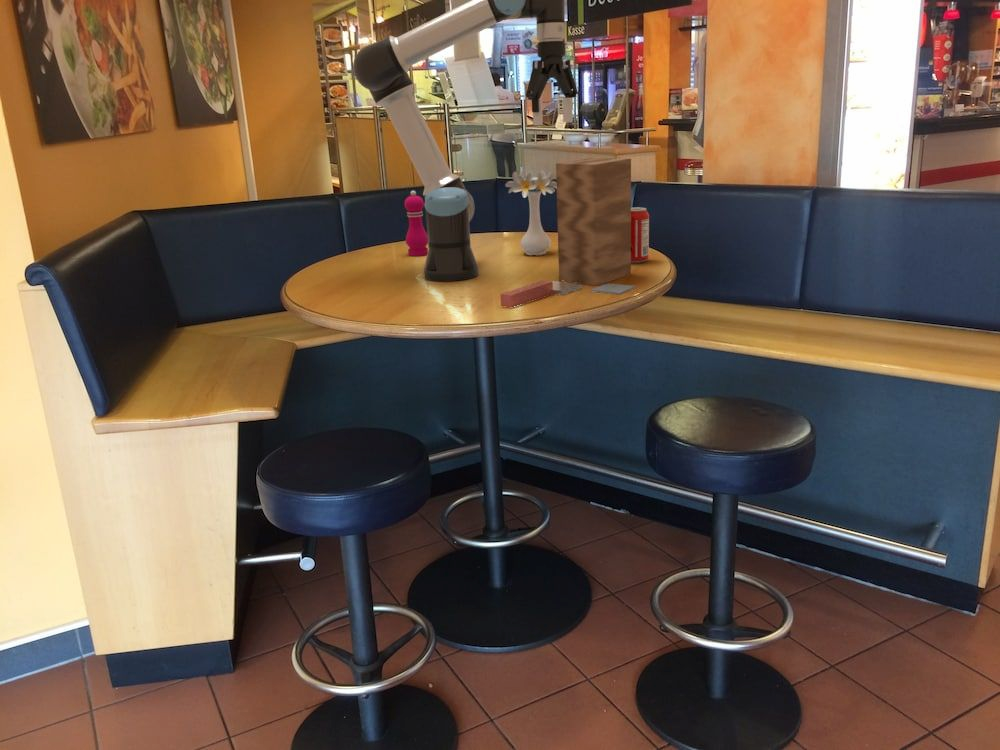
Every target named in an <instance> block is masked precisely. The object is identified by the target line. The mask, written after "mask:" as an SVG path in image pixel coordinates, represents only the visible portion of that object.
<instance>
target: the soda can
mask: <svg viewBox="0 0 1000 750" xmlns="http://www.w3.org/2000/svg"><path fill="white" fill-rule="evenodd" d="M649 233H650V214H649V212H648V210H647V208H646V207H639V206H638V207H631V264H633V263H635V264H642V263H645V262H646V261H648V259H649V256H650V255H649V249H650V246H649V245H650V244H649V243H650V241H649V240H650V235H649Z"/></svg>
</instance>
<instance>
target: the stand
mask: <svg viewBox="0 0 1000 750" xmlns="http://www.w3.org/2000/svg"><path fill="white" fill-rule="evenodd" d="M555 170H556V172H555V173H556V176H555V177H556V182H557V190H556V210H557V211H556V212H557V213H556V214H557V216H556V217H557V249H558V281H559V280H564V281H563V282H566V281H570V282H569V283H574V282H577V283H576V284H581V283H584V284H583V285H589V284H591V286H601V285H604V284H606V283H609V282H610V281H614V280H617V279H620V278H622V277H624V276H628V275H631V274H632V268H631V267H632V263H631V208H632V158H620V157H619V158H617V157H610V158H608V157H590V158H583V159H578V160H571V161H565V162H559V163H555Z"/></svg>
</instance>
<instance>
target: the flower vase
mask: <svg viewBox="0 0 1000 750" xmlns="http://www.w3.org/2000/svg"><path fill="white" fill-rule="evenodd" d="M536 174H537V175H536V176H537V177H536V176H535V175H534V173H533V172H532V171H531V170H528V172H527V174H526V176H525V178H524V177H523V175H524V172H523V171H522V172H520V173H519V174H518V173H517V171H513V173H512V176H511V177H512V180H513V181H512V180H510V181H507V182H506V183H505V185H504V186H505V187H506V188H509V189H508V194H510V193H512V192H513V193H518V192H521V195H522V198H524V199H525V198H527V197H528V203H529V204H528V205H529V222H528V223H529V224H528V228H527V231H526V233H525V234H524V235H523V236H522V238H521V239H520V240H521V241H520V247H521V248H522V249H523V250H524V251H525V254H526V255H528V256H532V255H536V256H543V254H544V255H546V254H547V250H548V249H549V248H550V247H551V244H552V242H551V238H550V236H549V235H548V234H547V233H546V232H545V231H544V228H543V226H542V223H541V213H540V212H541V211H540V200H541V194H542V195H544V196H546V195H547V193H548V194H550V195H551V194H553V193H556V191H557V181H553V179H554V174H553V172H552V171H550V172H548V174H546V173H545V171H544V170H541V173H540V172H539V171H538V172H537V173H536Z"/></svg>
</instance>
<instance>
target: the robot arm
mask: <svg viewBox="0 0 1000 750" xmlns="http://www.w3.org/2000/svg"><path fill="white" fill-rule="evenodd" d="M534 18H535V19H536V40H537V41H538V42H537V44H536V47H537V49H536V50H537V53H536V54H537V57H538V58H540V59H538V60H532V64H531V73H530V77H529V81H528V85H527V88H526V93H525V97H526V98H527V99H528V101H531V112H532V125H533V126H543V123H544V119H543V118H544V117H543V99H540V98H541V96H542V94H543V92H544V90H545V88H546V85H547V83H548V81H549V80H550V79H554V80H555V81H556V82H557V84H558V87H559V88H560V90H561V92H562V94H563V96H564V97H562V118H563V119H562V122H563V123H573V121H574V120H573V108H574V105H573V102H574V101H573V99H574V98H576V97H577V95H578V93H579V91H578V89H577V84H576V82H575V78H574V74H573V72H572V69H571V60H570V59H563V57H564V56H565V55H566V41H564V39H565V38H566V33H565V32H566V31H565V28H566V27H565V26H566V24H565V22H566V21H565V18H566V17H565V0H469V1H467V2H465V3H463V4H461V5H459V6H457V7H455V8H453V9H451V10H449V11H446V12H444V13H442V14H441V15H440V16H437V17H435V18H433V19H430V20H429V21H426V22H425V23H423V24H421V25H418V26H417V27H415V28H413V29H410V30H409V31H407V32H405V33H403V34H401V35H399V36H397V37H395V36H392V35H390V36H387V37H386V38H383V39H380V40H378V41H376V42H373V43H370V44H367V45H365V46H363V47H362V48H361V49H360V50H358V52H357V54H356V55H355V57H354V59H353V63H352V64H353V65H352V66H353V67H352V68H353V74H354V77H355V79H356V81H357V82H358V83H359V84H360V85H361V86H362V87H363V88H364V89H367V90H368V91H369V93H370V95H371V97H372V99H373V101H374V102H375V104H376V106H379V107H382V108H383V109H384V110H385V112H386V114H387V116H388V118H389V119H390V121H391V123H392V126H393V127H394V129H395V131H396V133H397V134H396V135H398V137H399V139H400V141H401V143H402V145H403V147H404V149H405V151H406V153H407V155H408V157H409V159H410V161H411V163H412V165H413V166H414V168H415V171H416V172H417V174H418V176H419V178H420V181H421V182H422V184H423V186H424V189H423V193H422V195H423V198H424V208H425V220H426V231H427V232H426V233H427V236H428V244H427V245H428V247H427V248H428V254H426V259H425V263H424V267H423V268H424V269H423V276H424V278H425V280H429V281H437V282H453V281H454V282H457V281H462V280H463V281H464V280H469V279H473V278H475V277H477V276H479V265H478V262H477V259H476V257H475V255H474V251H473V250H472V246H471V232H470V231H471V230H470V223H471V221H472V220H473V218H474V215H475V201H474V197H473V196H472V195H471V194H470V192H469V191H468V190H467V189H466V187H465V185H464V183H463V181H462V180H461V177H460V176H459V175H458V174H454V173H453V172H452V170H451V169H450V168H449V165H448V163H447V162H446V161H447V160H446V159H445V157H444V156H443V153H442V152H441V149H440V147H439V145H438V144H437V141H436V139H435V137H434V135H433V133H432V132H431V129H430V127H429V126H428V123H427V121H426V119H425V117H424V115H423V114H422V111H421V109H420V107H419V105H418V103H417V101H416V99H415V97H414V95H413V89H414V83H413V82H412V79H411V77H410V75H409V70H410V67H411V66H413V65H415V64H418V63H420V62H421V61H423V60H426V59H428V58H430V57H431V56H433V55H435V54H437V53H440V52H441V51H444V50H445V49H448V48H449V47H452V46H454V45H456V44H458V43H460V42H462V41H464V40H466V39H468V38H469V37H472V36H473V35H475V34H478V33H480V32H482V31H484V30H486V29H487V28H489V27H490V28H491V27H492V26H493V25H496V24H498V23H500V22H503V21H506V20H519V19H534Z"/></svg>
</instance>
